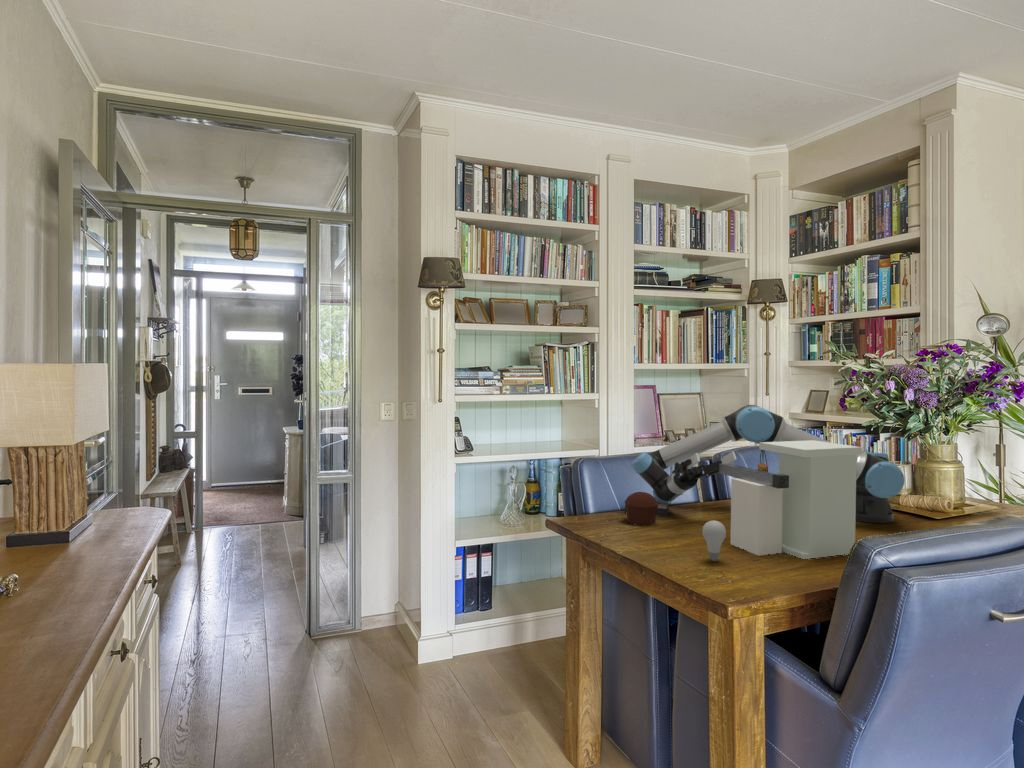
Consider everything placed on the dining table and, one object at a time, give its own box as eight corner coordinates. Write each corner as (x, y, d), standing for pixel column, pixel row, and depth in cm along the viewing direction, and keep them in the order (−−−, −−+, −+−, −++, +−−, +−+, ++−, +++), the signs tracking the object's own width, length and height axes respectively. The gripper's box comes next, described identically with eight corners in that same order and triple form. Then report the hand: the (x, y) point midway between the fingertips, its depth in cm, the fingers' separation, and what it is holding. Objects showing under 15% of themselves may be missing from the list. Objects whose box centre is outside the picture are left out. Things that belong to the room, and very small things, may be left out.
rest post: (730, 544, 188) (731, 478, 188) (753, 542, 191) (753, 477, 190) (758, 555, 177) (759, 485, 176) (781, 553, 179) (782, 484, 179)
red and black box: (668, 507, 224) (625, 502, 228) (667, 519, 224) (624, 514, 228) (669, 500, 235) (628, 496, 239) (668, 512, 235) (627, 507, 239)
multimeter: (789, 501, 249) (789, 450, 249) (762, 500, 251) (762, 450, 251) (781, 494, 264) (781, 446, 263) (755, 493, 266) (756, 445, 265)
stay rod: (718, 473, 197) (718, 462, 197) (727, 472, 198) (728, 461, 198) (778, 488, 173) (778, 476, 172) (788, 487, 174) (789, 475, 174)
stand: (758, 542, 190) (759, 442, 189) (811, 537, 197) (813, 440, 196) (803, 560, 173) (804, 449, 172) (860, 553, 179) (862, 447, 179)
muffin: (665, 525, 211) (665, 495, 211) (635, 527, 208) (635, 497, 207) (647, 517, 222) (647, 488, 222) (618, 519, 219) (618, 490, 219)
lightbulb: (698, 558, 175) (698, 518, 174) (720, 557, 175) (720, 517, 175) (707, 565, 168) (707, 523, 168) (729, 564, 169) (730, 523, 169)
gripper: (716, 488, 221) (753, 465, 203) (653, 492, 213) (685, 469, 195) (710, 468, 224) (745, 443, 207) (647, 471, 216) (678, 446, 199)
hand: (716, 456), depth 201 cm, fingers open, 13 cm apart
